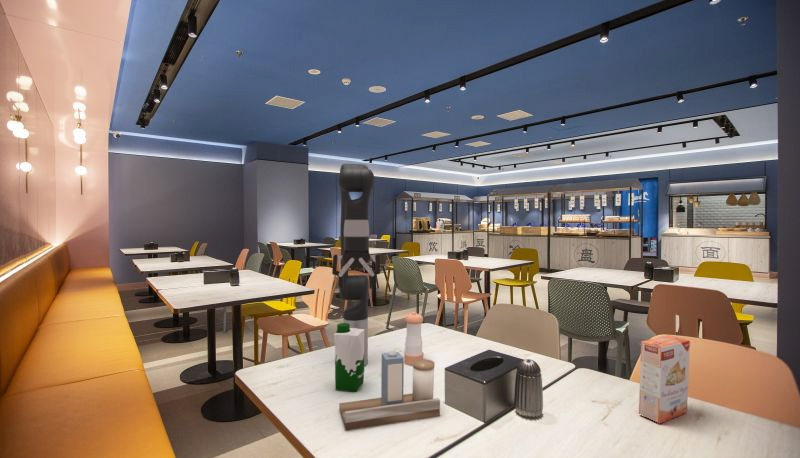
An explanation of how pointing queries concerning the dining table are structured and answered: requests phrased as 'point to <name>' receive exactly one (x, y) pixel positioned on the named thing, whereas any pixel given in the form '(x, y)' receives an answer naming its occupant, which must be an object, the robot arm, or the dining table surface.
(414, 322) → the salt shaker
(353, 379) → the milk carton
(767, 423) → the dining table surface
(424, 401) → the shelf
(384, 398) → the tea tin
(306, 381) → the dining table surface
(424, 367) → the jar
